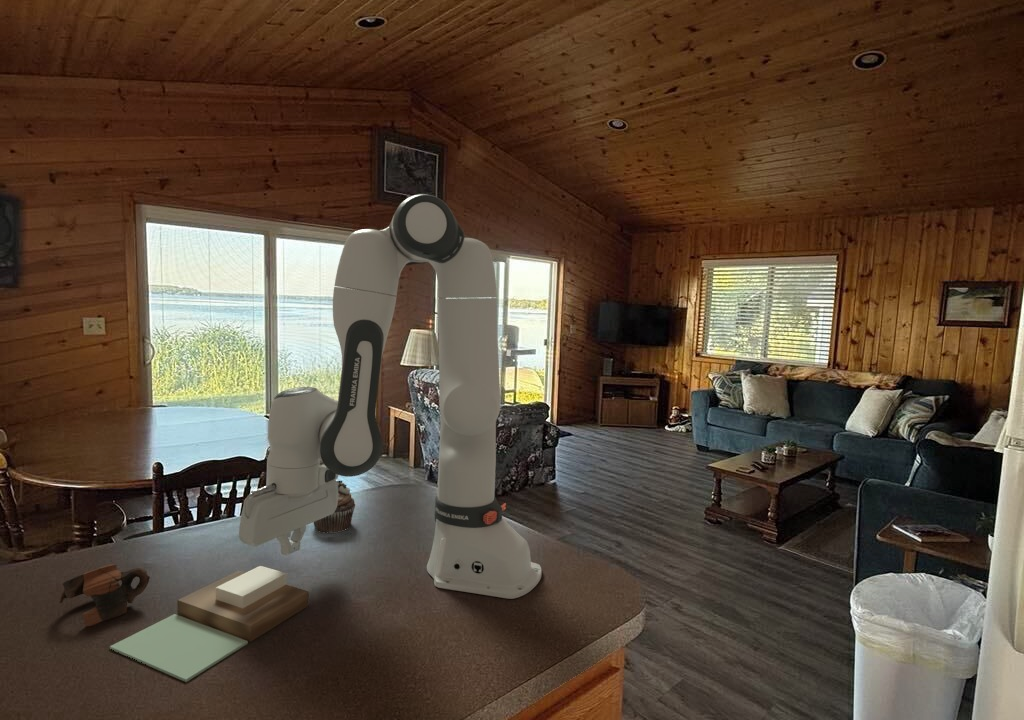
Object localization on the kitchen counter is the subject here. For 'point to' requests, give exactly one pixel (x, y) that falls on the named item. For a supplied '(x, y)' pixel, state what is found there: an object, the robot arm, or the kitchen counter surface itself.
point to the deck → (242, 609)
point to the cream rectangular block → (250, 586)
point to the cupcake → (338, 512)
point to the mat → (179, 647)
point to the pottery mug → (106, 591)
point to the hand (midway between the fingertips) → (290, 552)
